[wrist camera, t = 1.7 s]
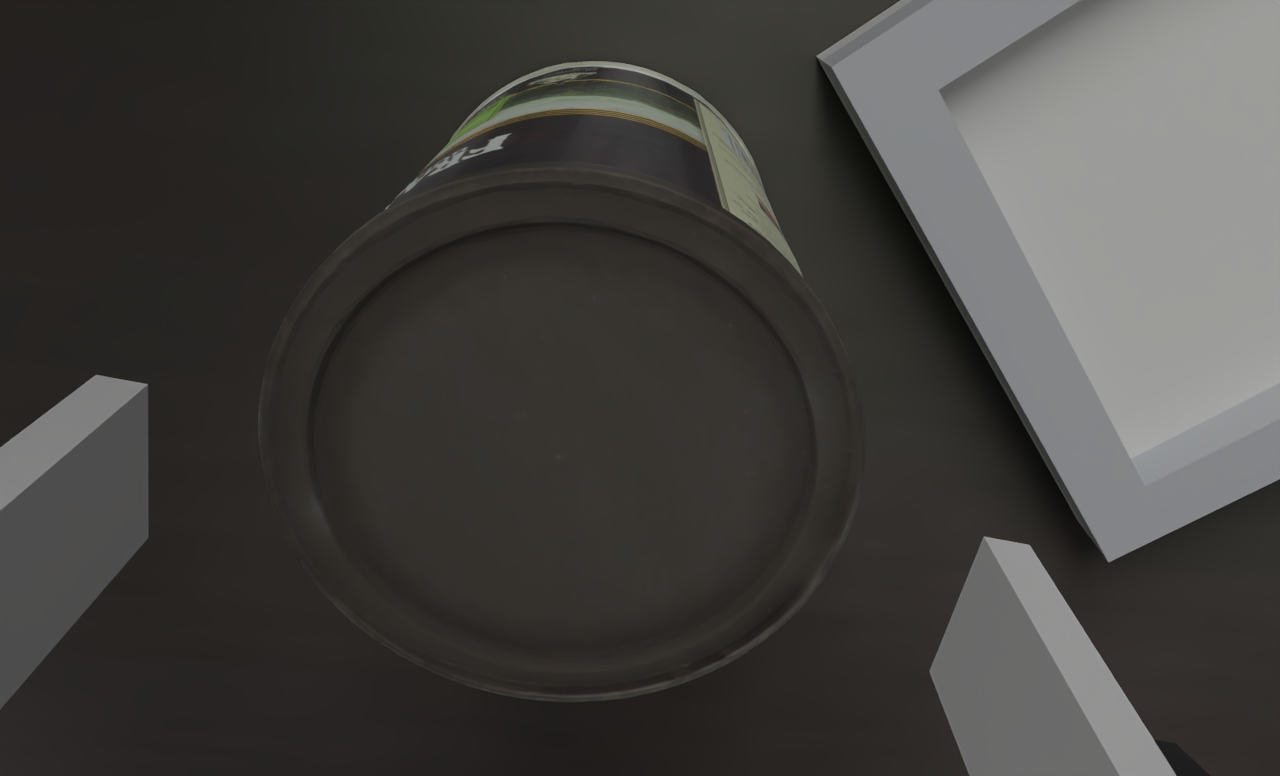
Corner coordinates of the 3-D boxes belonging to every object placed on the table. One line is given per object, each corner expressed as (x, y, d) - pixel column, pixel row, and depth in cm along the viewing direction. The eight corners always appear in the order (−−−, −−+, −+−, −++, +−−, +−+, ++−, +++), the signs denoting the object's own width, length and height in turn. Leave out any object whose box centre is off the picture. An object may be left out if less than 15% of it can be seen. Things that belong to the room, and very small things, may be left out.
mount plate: (816, 56, 27) (831, 67, 25) (1490, -392, 23) (1583, -428, 21) (1077, 519, 33) (1108, 562, 31) (1646, 234, 29) (1730, 259, 27)
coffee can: (362, 274, 30) (150, 526, 17) (554, -20, 26) (467, 20, 14) (635, 452, 32) (627, 789, 20) (842, 205, 29) (997, 417, 16)
